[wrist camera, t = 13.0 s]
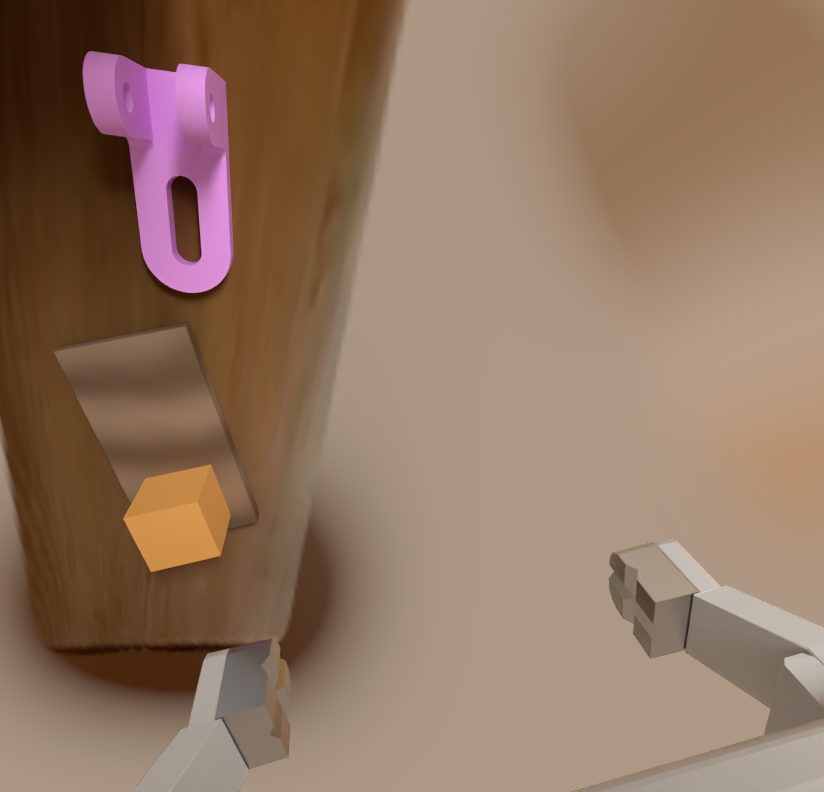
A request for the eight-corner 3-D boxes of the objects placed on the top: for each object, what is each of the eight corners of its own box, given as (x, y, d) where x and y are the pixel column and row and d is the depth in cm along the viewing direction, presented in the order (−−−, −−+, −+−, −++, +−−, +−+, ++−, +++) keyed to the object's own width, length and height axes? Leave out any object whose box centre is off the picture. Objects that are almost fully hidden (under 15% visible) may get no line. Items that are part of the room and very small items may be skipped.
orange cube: (145, 478, 40) (123, 518, 35) (210, 464, 40) (197, 502, 36) (168, 528, 42) (151, 571, 37) (230, 514, 42) (220, 555, 38)
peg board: (61, 346, 35) (27, 370, 31) (189, 321, 36) (172, 342, 32) (156, 537, 43) (139, 576, 39) (259, 513, 44) (253, 550, 40)
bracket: (127, 68, 30) (77, 43, 23) (226, 82, 31) (202, 61, 25) (152, 285, 35) (116, 312, 29) (235, 290, 36) (218, 317, 30)
